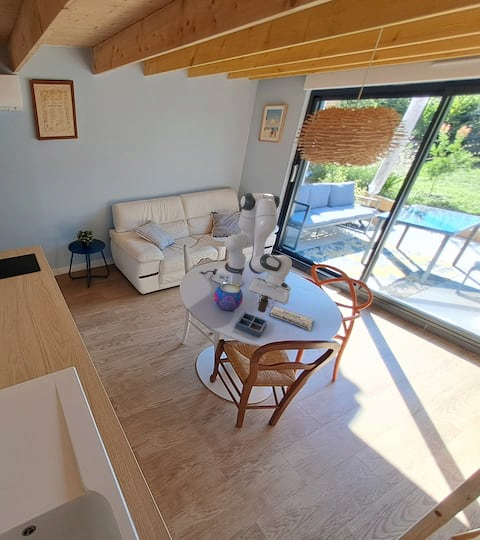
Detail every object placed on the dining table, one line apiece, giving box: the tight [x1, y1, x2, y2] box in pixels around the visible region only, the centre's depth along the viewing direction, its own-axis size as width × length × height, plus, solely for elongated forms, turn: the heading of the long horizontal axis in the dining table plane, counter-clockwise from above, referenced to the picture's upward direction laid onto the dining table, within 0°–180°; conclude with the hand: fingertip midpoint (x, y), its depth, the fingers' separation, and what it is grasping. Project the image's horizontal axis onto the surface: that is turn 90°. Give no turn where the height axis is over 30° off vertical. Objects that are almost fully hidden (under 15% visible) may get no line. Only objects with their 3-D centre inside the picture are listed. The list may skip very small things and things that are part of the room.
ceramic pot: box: [213, 283, 244, 311], centre depth 184 cm, size 18×18×15 cm
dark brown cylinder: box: [257, 295, 269, 313], centre depth 157 cm, size 4×4×10 cm
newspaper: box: [269, 305, 314, 331], centre depth 176 cm, size 23×12×2 cm, turn 48°
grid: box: [235, 311, 268, 338], centre depth 169 cm, size 13×13×4 cm
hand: (263, 304), depth 157 cm, fingers closed on dark brown cylinder, 4 cm apart
